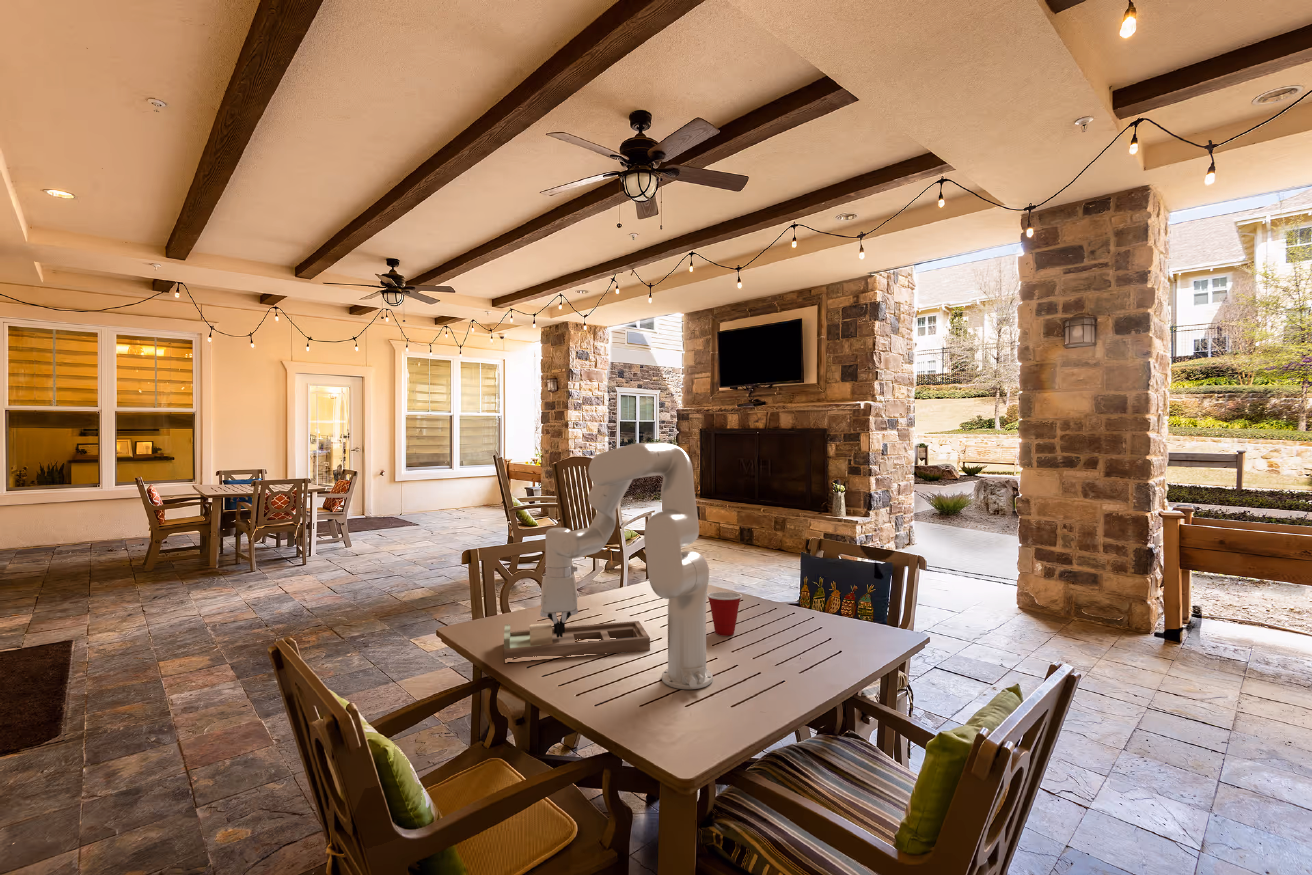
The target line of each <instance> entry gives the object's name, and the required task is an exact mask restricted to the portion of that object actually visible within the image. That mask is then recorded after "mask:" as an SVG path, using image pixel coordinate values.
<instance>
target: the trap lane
mask: <svg viewBox="0 0 1312 875" xmlns="http://www.w3.org/2000/svg"><path fill="white" fill-rule="evenodd" d="M503 630H504V633H503V660H504V659H507V658H514V657H533V656H534V657H535V656H536V657H537V656H569V655H570V656H571V655H584V654H605V653H607V654H605V655H609V654H608V653H616V654H621V653H620V652H626V653H635V652H646V651H650V650H651V636H649V634H648V633H647V631H646V630H645V628H644V627H643V625H642V624H641V623H640V621H639V620H634V621H622V622H621V621H620V622H610V623H609V622H608V623H607V622H605V623H597V624H595V623H594V624H582V625H571V626H565V633H563V637H560V634H559V637H557V635H556V634H554V627H552V644H545V645H534V646H531V645H530V629H523V630H511V623H510V624H509V623H508V624H504V629H503ZM610 638H616V639H610ZM577 639H578V640H579V639H601V640H599V641H588V642H575V640H577Z"/></svg>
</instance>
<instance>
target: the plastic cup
mask: <svg viewBox="0 0 1312 875" xmlns="http://www.w3.org/2000/svg"><path fill="white" fill-rule="evenodd" d="M742 597H743V595H742V594H741V593H738V592H731V591H715V592H714V591H712V592H709V593H708V592H707V597H706V598H708V601H709V605H710V611H711V616H712V622H713V627H714V632H715V634H716V635H719V636H721V637H722V636H723V637H728V636H732V635H734V634H735V631H736V623H737V619H738V612H739V607H740V602H741V599H742Z"/></svg>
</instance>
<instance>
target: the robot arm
mask: <svg viewBox="0 0 1312 875" xmlns="http://www.w3.org/2000/svg"><path fill="white" fill-rule="evenodd" d="M588 476H589V480H590V481H591V482H592V483H593V486H592V487H591V489H590V491H589V492H588V495H587V500H588V503H589V505H590V506H591V507H592V508H593V509H594V510H596V512H595V513H596V514H595V516H594V518H593V520H592V522H591V523H590V525H589V526H588V527H585V528H580V529H576V530H571V529H570V528H567V527H552V528H549V529H547V530H546V532H545V575H543V576H542V582H541V588H540V589H541V591H540V593H541V594H540V607H541V608H540V614H539V615H540V617H542V618H548V619H549V620H550V621H552V623H553V628H554V634H556V635H557V637H559V634H560V637H563V633H565V627H566V625H565V624H566V622H567V620H569V618H570V617H571V616H575V615H578V614H579V610H578V594H577V593H578V592H577V582H576V581H577V580H576V576H575V574H574V573H575V572H578V566H574V565H573V560H574V559H578V558H582V557H586V556H589V555H593V554H597V553H599V552H600V551H601V550H602V549H603V548H604V547H605V546H606V545H607V543H608V542H609V540H610V538H611V536H612V535H613V533H614V530H615V529H616V525H617V512H616V511H617V508H618V506H619V505H620V503H621V501H622V500H623V498H624V496H625V495H626V492H627V490H628V489H629V487H630V486H631V484H632V482H633V480H635V479H640V478H649V477H657V476H660V477H661V476H662V477H663V480H662V482H661V483H662V484H661V489H660V498H661V507H662V511H660V512H657V513H654V514H653V515H652V516H651V517H649V519H648V520H647V522H646V525H645V528H644V533H643V538H644V541H643V542H644V548H645V549H644V550H645V558H646V568H647V576H648V582H649V584H650V587H651V589H652V591H653V592H654V593H655V594H656V595H657V596H658V597H659V598H661V599H665V600H668V602H667V668H666V669H665V670H663V671H662V673H661V680H662V682H663V683H664V684H665V685H666V686H668V687H671V688H674V689H678V690H697V689H703V688H705V687H708V686H709V685H711V683H712V682H713V679H714V676H713V673H712V671H710V670H709V669H708V668H707V598H708V597H707V594H708V586H709V581H710V568H709V564H708V562H707V560H706V559H705V557H704V556H703V555H702V554H700V553H699V552H697V551H693V550H686V551H685V550H684V551H682V548H684V547H687V546H689V545H691V544H693V543H695V541H697V539H698V538H699V534H700V524H699V516H698V506H697V498H696V492H695V491H696V490H695V481H694V470H693V464H692V460H691V458H690V457H689V455H688V453H687V452H685V450H683V448H681V447H679V446H678V445H676V444H673V443H669V442H661V441H660V442H659V441H658V442H656V441H655V442H637V443H636V442H635V443H631V444H627V445H623V446H621V447H617V448H613V449H611V450H606V451H603V452H601V453H598V454H597V455H596V456H595V455H594V457H593V458H592V459H591V461H590V462H589V466H588ZM558 613H561V617H560V618H558V617H557V616H558V615H557V614H558Z"/></svg>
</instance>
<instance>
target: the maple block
mask: <svg viewBox="0 0 1312 875" xmlns="http://www.w3.org/2000/svg"><path fill="white" fill-rule="evenodd" d="M552 628H553V626H552V623H551V622H550V623H549V622H548V623H547V622H546V623H537V624H536V623H535V624H529V630H530V645H531V646H534V645H545V644H552Z"/></svg>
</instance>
